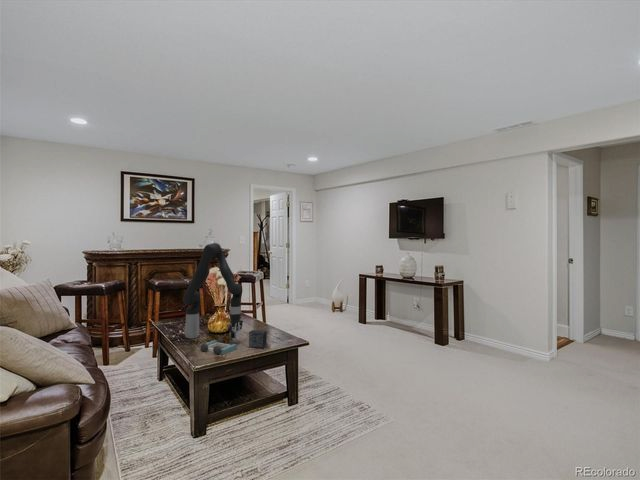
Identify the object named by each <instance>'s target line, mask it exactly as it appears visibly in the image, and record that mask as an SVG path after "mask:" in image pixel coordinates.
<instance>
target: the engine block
mask: <svg viewBox="0 0 640 480" xmlns="http://www.w3.org/2000/svg"><path fill="white" fill-rule="evenodd" d="M241 330H242V329H240V330H237V329H235V331H234V338H231V332H229V338H230V339H232V340H234V339H235V340H238V339H239V338H241V337H242V336H241V335H242V331H241ZM232 331H233V329H232Z"/></svg>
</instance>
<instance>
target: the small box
mask: <svg viewBox="0 0 640 480" xmlns="http://www.w3.org/2000/svg"><path fill="white" fill-rule="evenodd" d="M267 332H268V331H267V330H257V329H252V330H251V331H248V348H251V349H252V348H253V349H261V350H263V349H265V348H266V347H267V346H268V345H267V339H268V338H267Z"/></svg>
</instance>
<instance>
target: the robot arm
mask: <svg viewBox="0 0 640 480" xmlns="http://www.w3.org/2000/svg"><path fill="white" fill-rule="evenodd" d="M214 257H215V258H216V260H217V261H218V264H219V272H220V275H221V276H222V278H223V280H224V281H225V284H226V288H227V291H228V292H229V293H230V294H231V295H232V297H231V298H230V302H229V304H230V307H229V320H230V323H228V324H226V326H227V331H228V333H230V332H231V338H230V339H233V338H234V331H235V329H237V330H242V329H243V322H244V321H243V320H241V319H242V296H243V286H242V284H240V283H239V282H238V283H237V282H236V281H235V279H236V277H235V275H234V273H233V271H232V270H231V267H230V266H229V264H228V262H227V259H226V257H225V254H224V251H223V248H222V247H221V245H220V244H219V243H217V242H214V243H210V244H206V245H205V246H204V248H203V250H202V253H201V257H200V260H199V262H198V264H197V267H196V269H195V271H194V274H193V276H192V278H191V281H190V283H189V286H187V288H186V290H185V292H184V294H183V298H182V302H183V303H184V305H186V306H189V305H190V306H189V307H188V308H187V309H186V310H185V323H184V338H186V339H196V338H198V337H200V309H201V300H202V299H201V294H200V292H199V291H198V289H199V288H200V287H202V286H203V284H205V282H206V281H207V280H208V277H209V274H210V266H209V265H210V263H211V260H212V259H213V258H214ZM232 330H233V331H232Z"/></svg>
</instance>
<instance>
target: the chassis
mask: <svg viewBox="0 0 640 480" xmlns="http://www.w3.org/2000/svg"><path fill="white" fill-rule="evenodd" d="M199 347H200V348H199V350H200V351H202V352H203V353H204V352H209V353H213V354H215V355H222V356H224V355H227V354H229V353H231V352H233V351H236V350H237V348H238V345H237V343H236V341H235V340H234V339H231V340H229V341H228V343H224V339H223V338H222V337H218V338H217V339H216V340H215V339H214V340H211V341H208V342H204V343H202V344H200V345H199Z"/></svg>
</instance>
